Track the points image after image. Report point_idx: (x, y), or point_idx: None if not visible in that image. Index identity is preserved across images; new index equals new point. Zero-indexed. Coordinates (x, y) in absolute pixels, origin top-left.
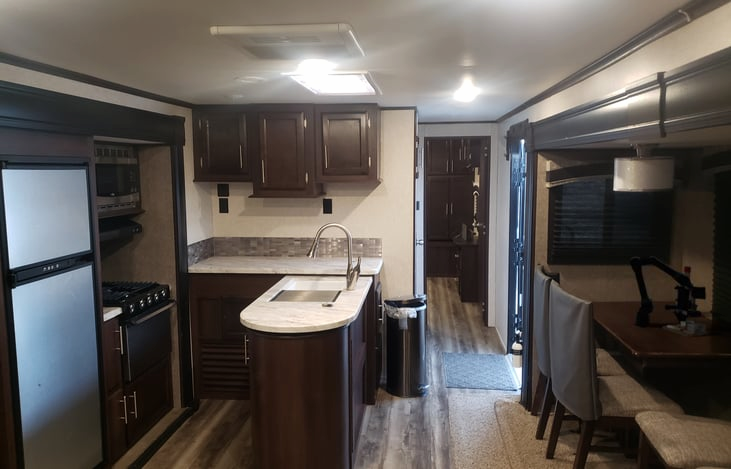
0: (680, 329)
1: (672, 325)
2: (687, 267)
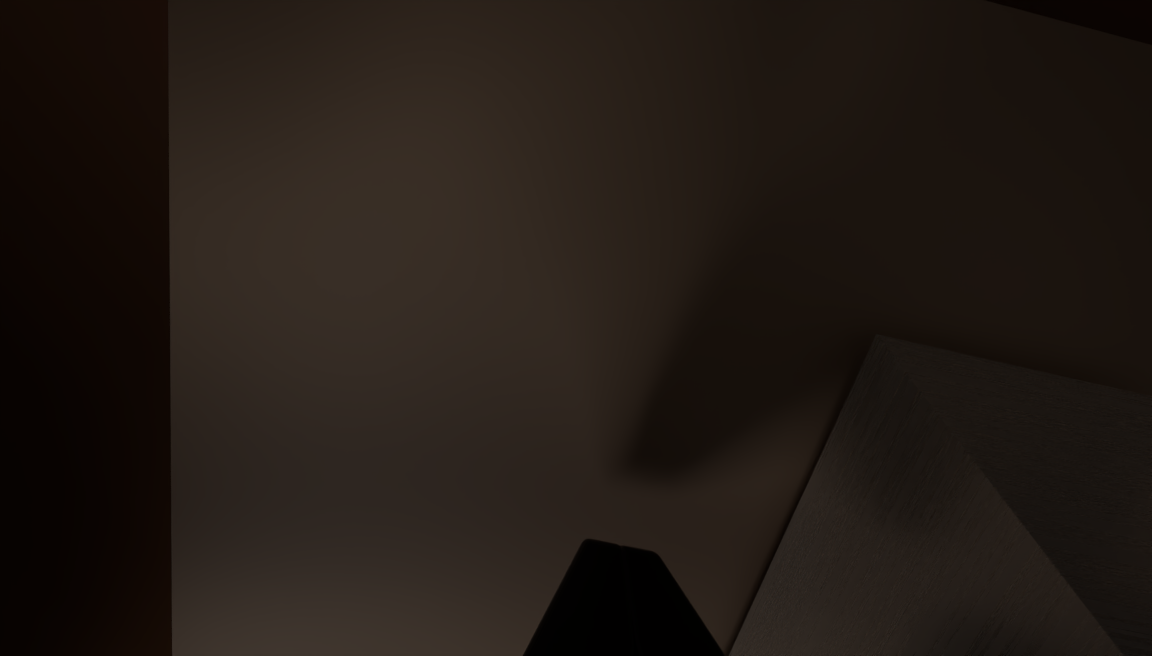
0: None
1: (205, 534)
2: None
